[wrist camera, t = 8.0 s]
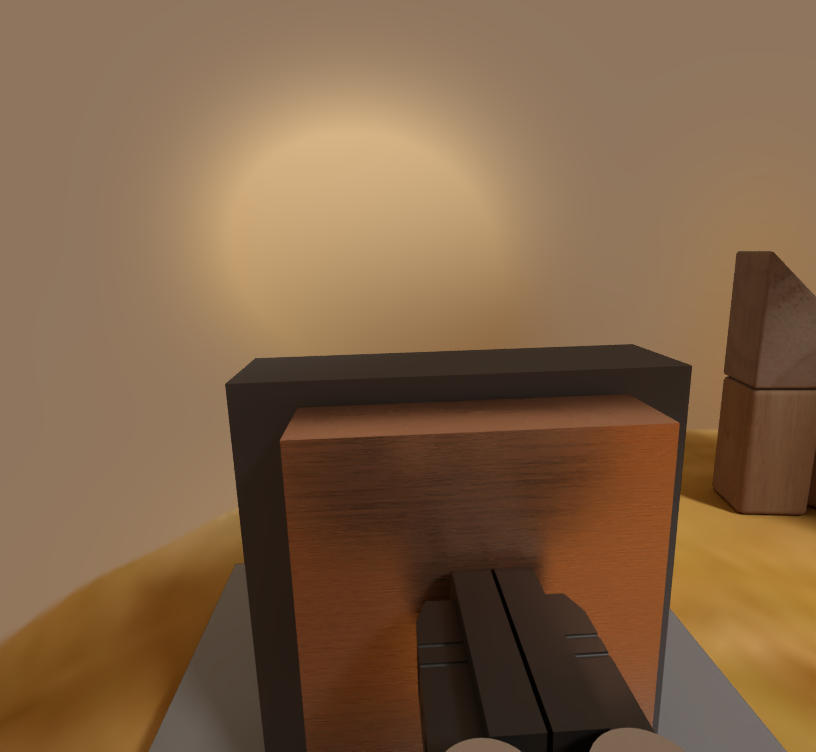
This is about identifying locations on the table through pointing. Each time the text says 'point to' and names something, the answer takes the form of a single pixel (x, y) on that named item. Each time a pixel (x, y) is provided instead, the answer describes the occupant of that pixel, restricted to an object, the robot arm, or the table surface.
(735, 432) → the wooden block
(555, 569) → the sliding block
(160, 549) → the table surface
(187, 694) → the base plate
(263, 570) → the rubber collar
